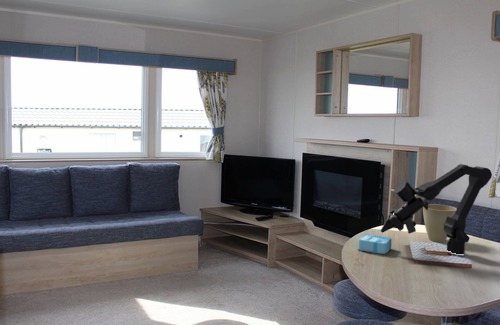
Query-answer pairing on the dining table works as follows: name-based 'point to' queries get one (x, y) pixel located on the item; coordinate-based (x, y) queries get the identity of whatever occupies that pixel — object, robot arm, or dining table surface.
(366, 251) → the gray flat panel
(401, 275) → the dining table surface
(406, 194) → the robot arm
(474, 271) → the dining table surface
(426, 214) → the plant pot
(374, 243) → the data package
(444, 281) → the dining table surface
